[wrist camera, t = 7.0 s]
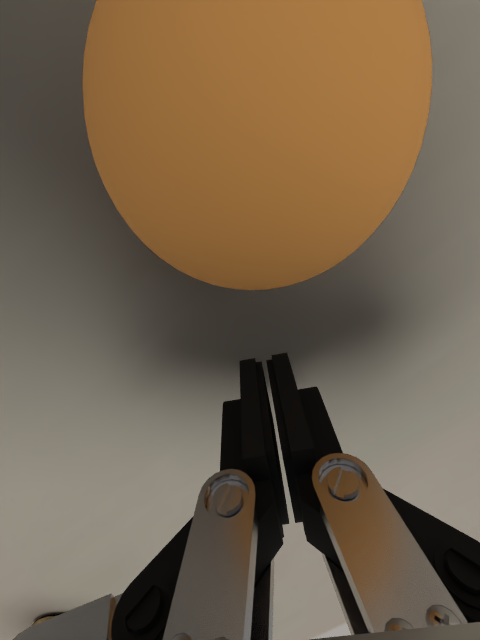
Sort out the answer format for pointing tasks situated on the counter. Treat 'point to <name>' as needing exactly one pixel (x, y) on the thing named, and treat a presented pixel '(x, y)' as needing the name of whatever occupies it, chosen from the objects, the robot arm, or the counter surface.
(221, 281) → the ball
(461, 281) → the counter surface
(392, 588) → the robot arm
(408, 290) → the counter surface
